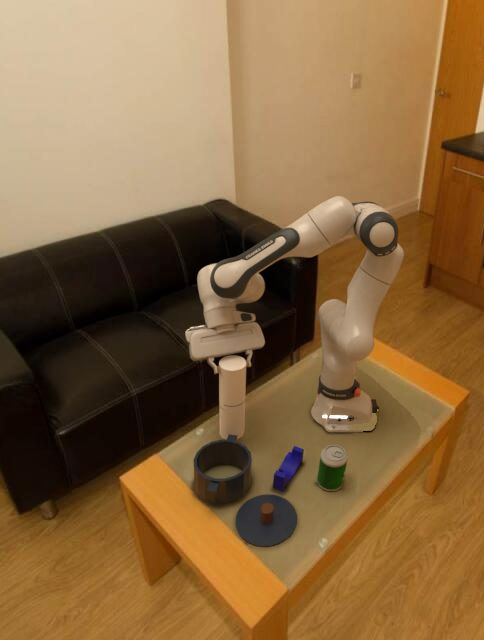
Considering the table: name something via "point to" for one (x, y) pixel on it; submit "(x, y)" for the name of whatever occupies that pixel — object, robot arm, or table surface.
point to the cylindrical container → (232, 396)
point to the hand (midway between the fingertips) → (233, 370)
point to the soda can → (332, 468)
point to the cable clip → (288, 468)
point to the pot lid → (266, 520)
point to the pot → (222, 455)
